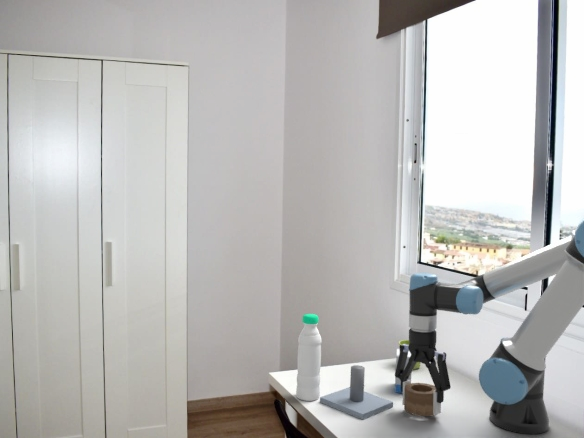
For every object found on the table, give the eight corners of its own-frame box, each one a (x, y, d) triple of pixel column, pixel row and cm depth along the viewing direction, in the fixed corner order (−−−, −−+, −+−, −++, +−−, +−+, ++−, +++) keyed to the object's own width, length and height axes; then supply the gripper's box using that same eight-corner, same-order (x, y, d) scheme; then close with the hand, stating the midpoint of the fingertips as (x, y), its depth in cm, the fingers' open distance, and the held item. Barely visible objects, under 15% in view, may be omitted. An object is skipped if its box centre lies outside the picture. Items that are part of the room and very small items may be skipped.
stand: (393, 406, 160) (394, 369, 159) (362, 419, 150) (364, 380, 150) (350, 391, 171) (352, 356, 171) (319, 402, 162) (321, 365, 161)
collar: (444, 409, 154) (444, 388, 154) (426, 418, 148) (426, 396, 148) (416, 401, 161) (416, 380, 161) (397, 409, 154) (398, 387, 154)
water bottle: (324, 397, 165) (327, 315, 164) (308, 403, 160) (311, 318, 159) (306, 391, 170) (309, 311, 169) (291, 397, 165) (294, 314, 164)
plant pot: (397, 370, 194) (399, 345, 194) (397, 362, 203) (398, 338, 203) (425, 372, 192) (426, 347, 192) (423, 364, 202) (424, 340, 201)
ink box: (410, 394, 171) (412, 357, 170) (394, 392, 172) (396, 355, 171) (410, 385, 179) (412, 349, 178) (395, 383, 180) (396, 348, 179)
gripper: (465, 333, 148) (463, 416, 149) (397, 320, 164) (396, 395, 165) (451, 338, 143) (449, 423, 144) (382, 324, 159) (381, 401, 160)
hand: (421, 408), depth 154 cm, fingers closed on collar, 9 cm apart
